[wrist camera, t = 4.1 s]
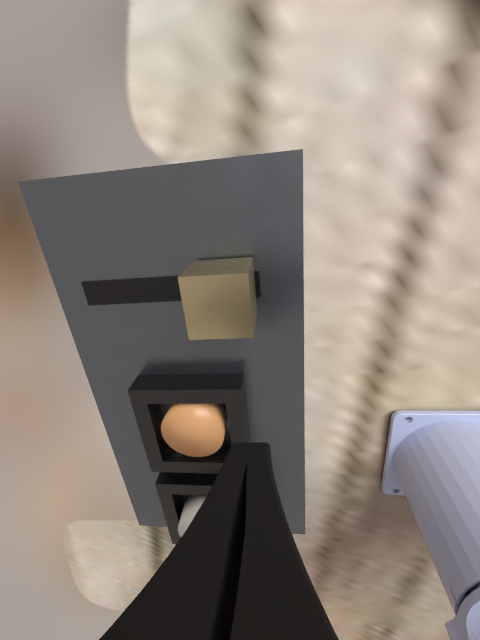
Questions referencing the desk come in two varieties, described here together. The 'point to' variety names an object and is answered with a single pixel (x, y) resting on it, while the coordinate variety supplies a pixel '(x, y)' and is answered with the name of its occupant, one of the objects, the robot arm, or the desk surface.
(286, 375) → the switch panel
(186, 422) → the orange button
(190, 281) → the brass slider
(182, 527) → the cream button
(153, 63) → the desk surface
